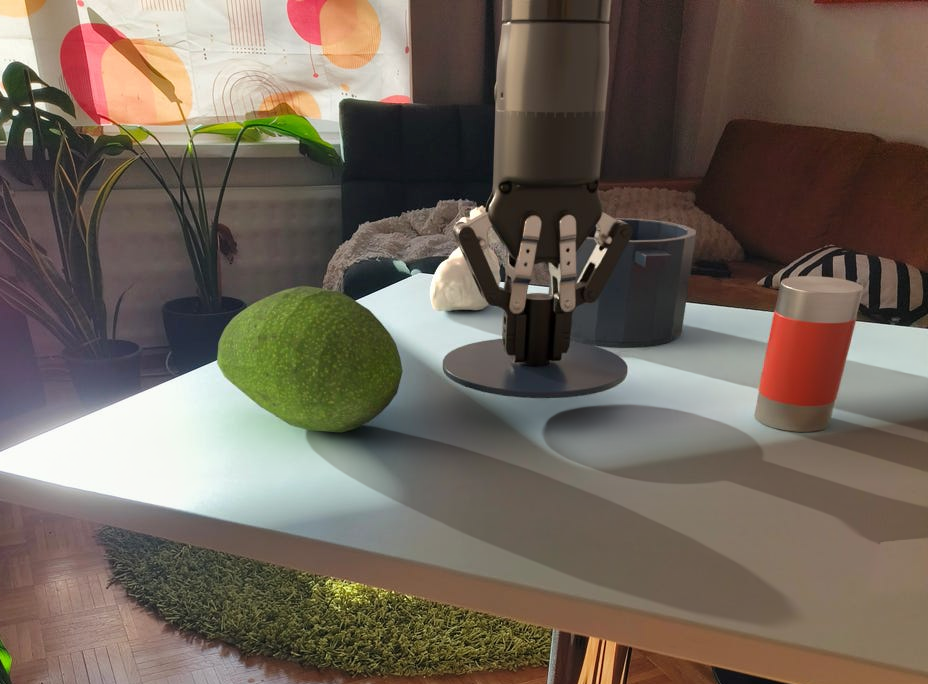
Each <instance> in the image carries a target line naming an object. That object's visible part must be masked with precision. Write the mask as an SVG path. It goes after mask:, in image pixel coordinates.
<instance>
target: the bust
mask: <svg viewBox="0 0 928 684" xmlns="http://www.w3.org/2000/svg"><path fill="white" fill-rule="evenodd" d="M485 208H486V207H484V205H481V206H479V207H475V208H474V209H471V210H470V212H469V215H470V216H469V217H467V216H463V217H461V218H460V219H459V221H456V222H455V224H456V223H458V222H465V223H467V222H468V221H470V220H472V219H474V218H475V217H477V216H479V215H481V214H482V213H484V212H485ZM488 239H489V244H488V246H487V248H486V249H485V250H483V253H484V255H485V257H486V259H487V262H488V264H489V266H490V269H491V271H492V273H493V275H494V278H495V280H496V282H497V285H498V286H499V287H500V282H501V280H502V279H501V274H500V270H501V266H500V263H499V262H500V261H499V259H498V256H497V254H496V252H495V251H494V250H493V249H492V248H491V247H490V246H489V245H490V244H499V242H501V241H500V239H499V237H498V236H497V234H496V233H495V231H494V229H493V228H492V227H491V228H490V229H489V231H488ZM429 297H430V302H431V306H432V308H433V309H434V310H435V311H437V312H444V311H446V312H451V311H459V310H460V311H461V310H463V311H464V310H465V311H466V310H467V311H468V310H471V311H479V310H480V311H481V310H484V309H485V308H486V307H487V306H490V305H489V304H488V303H487V301H486V300H485V299H484V298H483V297H482V296H481V294H480V292H479V290H478V288H477V285H476V283H475V281H474V279H473V277H472V274H471V272H470V270H469V268H468V265H467V263H466V261H465V259H464V257H463V254H462V252H461V250H460V248H459V246H458V247H457V248H456V249H454V251H452V253H451V254H450V255H449V257H448V258H447V259H445V260H444V261H442V262H441V263H440V264H439V265H438V267H437V269H436V270H435V272H434V275H433V277H432V281H431V284H430V289H429Z"/></svg>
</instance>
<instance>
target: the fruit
mask: <svg viewBox="0 0 928 684" xmlns="http://www.w3.org/2000/svg"><path fill="white" fill-rule="evenodd" d="M216 364H217V366H218V367H219V369H220V371H221V373H222V375H223V376H224V378H225V379H226V380H228V381H229V382H230V383H231V384H232V385H234V386H235V387H236V388H237V389H238V390H239V391H241V392H242V393H243V394H244V395H245V396H247V398H248V399H250V400H251V401H253V402H254V403H255V404H256V405H258V406H259V407H260V408H262V409H263V410H265V411H267V412H268V413H270V414H272V415H273V416H275V417H277V418H278V419H280V420H281V421H283V422H285V423H286V424H287V425H289V426H293V427H297V428H300V429H303V430H305V431H312V432H313V431H315V432H330V433H333V432H334V433H345V432H348V431H353V430H355V429H358V428H360V427H361V426H363V425H365V424H367V423H369V422H371V421H372V420H373V419H375V418H376V417H377V416H379V415H380V414H381V413H382V412H383V411H385V410H386V408H387V407H389V406H390V404H391V403H392V401H393V400H394V399H395V397H396V396H397V394H398V391H399V388H400V383H401V380H402V376H403V371H404V370H403V365H402V359H401V356H400V352H399V349H398V346H397V343H396V341H395V339H394V338H393V336H392V335H391V333H390V332H389V331H388V330H387V328H386V327H385V326H384V325H383V323H382V322H381V321H380V319H378V318H377V316H376V315H375V314H374V313H373V312H372V311H371V309H369V308H367V307H365V306H364V305H362V304H361V303H359V302H358V301H356V300H355V299H353V298H351V297H350V296H348V295H346V294H344V293H343V292H341V291H339V290H332V289H325V288H320V287H314V286H308V285H300V286H296V287H290V288H287V289H284V290H281V291H278V292H276V293H273V294H270V295H268V296H266V297H264V298H262V299H260V300H258V301H256V302H253V303H252V304H251V305H249V306H247V307H245V309H243V310H241V311H240V312H239V313H237V314H236V315H235V316H234V317H232V319H230V321H229V322H228V323H227V325H226V326H225V328H224V329H223V332H222V333H221V335H220V338H219V341H218V346H217V359H216Z"/></svg>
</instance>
